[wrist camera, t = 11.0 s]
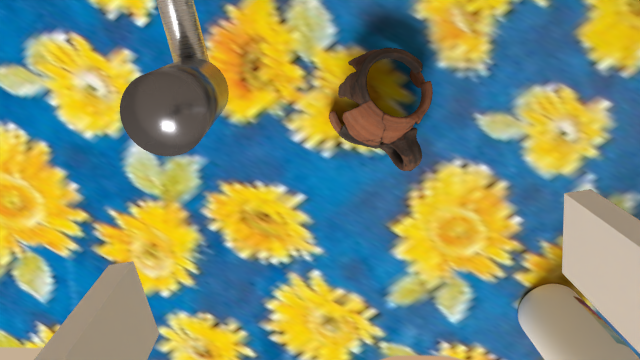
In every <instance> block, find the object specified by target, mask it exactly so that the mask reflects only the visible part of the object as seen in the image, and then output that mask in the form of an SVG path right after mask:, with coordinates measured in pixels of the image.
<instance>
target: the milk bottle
mask: <svg viewBox="0 0 640 360" xmlns="http://www.w3.org/2000/svg"><path fill="white" fill-rule="evenodd" d="M518 320H519V323H520V325H521V327H522V328H523V330H524V331H525V333H526V334H527V336H528V337H529V338H530V340H531V341H532V343H533V344H534V345H535V347H536V348H537V350H538V351H539V352H540V354H541V355H542V357H543V358H544V359H545V360H640V359H639V358H638V357H637V355H636V354H635V353H634V352H633V351H632V350H631V349H630V348H629V347H628V345H627V344H626V343H625V342H624V341H623V340H622V339H621V338H620V337H619V336H618V335H617V334H616V333H615V332H614V331H613V330H612V329H611V328H610V327H609V326H608V325H607V324H606V323H605V322H604V321H603V320H602V319H601V318H600V317H599V316H598V315H597V314H596V313H595V312H594V311H593V310H592V309H591V308H590V307H589V306H588V305H587V304H586V303H585V302H584V301H583V300H582V299H581V298H580V297H579V296H578V295H577V294H576V293H575V292H574V291H573V290H572V289H570V288H569V287H567V286H564V285H560V284H545V285H542V286H539V287H537V288H535V289H533V290H532V291H530V292H529V293H528V294H527V295H526V296H525V297H524V298H523V300H522V301H521V303H520V305H519V309H518Z"/></svg>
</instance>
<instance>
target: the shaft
mask: <svg viewBox="0 0 640 360" xmlns="http://www.w3.org/2000/svg"><path fill="white" fill-rule="evenodd" d="M156 1H157V5H158V8H159V12H160V15H161V19H162V22H163V26H164V29H165V33H166V36H167V40H168V43H169V47H170V50H171V53H172V57H173V60H174V63H172V64H169V65H167V66H164V67H162V68H159V69H157V70H154V71H152V72H149V73H147V74H144V75H142V76H140V77H138V78H136V79H135V80H134V81H132V82H131V83H130V84H129V86H128V87H127V88H126V90H125V91H124V93H123V96H122V99H121V103H120V116H121V120H122V124H123V126H124V129H125V130H126V132H127V134H128V135H129V136H130V138H131V139H132V140H133V141H134V142H135V143H136V144H137V145H138V146H140V147H141V148H143V149H144V150H146V151H148V152H150V153H153V154H156V155H160V156H176V155H180V154H183V153H186V152H188V151H189V150H191V149H192V148H194V147H195V146H196V145H197V144H198V143H199V142H200V140H201V139H202V138H203V136H204V135H205V134H206V132H207V131H208V130H209V128H210V127H211V126H212V125H213V123H214V122H215V121H216V119H217V118H218V117H219V115H220V114H221V113H222V111H223V110H224V108H225V106H226V104H227V101H228V85H227V82H226V80H225V77H224V76H223V74H222V73H221V71H220V70H219V69H218V68H217V67H216V66H215V65H213V64H212V63H210V62H209V59H208V55H207V51H206V47H205V43H204V39H203V36H202V32H201V28H200V24H199V20H198V16H197V12H196V9H195V5H194V1H193V0H156Z"/></svg>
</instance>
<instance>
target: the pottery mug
mask: <svg viewBox="0 0 640 360" xmlns="http://www.w3.org/2000/svg"><path fill="white" fill-rule="evenodd" d="M385 58H390V59H395V60H398V61H401V62H403V63H404V64H406V65H407V66H408V67H409V68H410V69H411V72H410V79H411V80H412V82H413V83H414V84H415V85H416V86H417V87H418V88H421V94H422V95H421V102H420V105H419V107H418V108H417V110H416V111H415V112H413V113H412V114H411V115H409V116H405V117H395V116H391V115H388V114H386V113H384V112H383V111H382V110H380V109H379V108H378V107H377V106H376V105H375V104H374V102H373V101H372V100H371V99H370V96H369V93H368V90H367V83H366V82H367V74H368V71H369V68H370V67H371V66H372V65H373V64H374V63H375V62H376V61H378V60H381V59H385ZM348 63H349V65H352V66H353V67H354V68H355V69H356V72H354V73H351V74H350V75H349V76H347V78H346V79H345V81H344V82H343V83H342V84H341V85H340V86H339V92H338V95H339V97H340V98H343V97H347V98H348V99H351V100H353V101H355V102H356V103H358V104H359V106H358V107H355V108H354V109H352V110H349V111H346V112H344V114H343V121H344V123H345V125H343V127H342V125H341V123H340V121H339V119H338V117H337V114H336V112H335V111H332V112H330V115H329V119H330V122H331V124H332V126H333V128H334V129H335V130H336V132H337V133H338V134H339V135H340V136H341V137H342V138H344V139H345V140H347V141H349V142H351V143H354V144H358V145H363V146H366V147H372V148H375V149H376V148H380V149H382V150H384V151H385V152H386V153H387V154H388V155H389V157H390V158H391V160H392V161H393V163H394V164H395V165H396V166H397V167H398V168H399V169H400V170H403V171H411V170H413V169H414V168H415V167H416V166H418V165H419V164H420V161H421V159H422V152H421V148H420V145H419V144H418V142H417V138H416V134H417V129H416V128H412V127H413V125H414V124H415V122H416V123H417V124H419V123H420V121H421V119H422V117H423V116H424V115H425V113H426V112H427V110H428V108H429V106H430V104H431V100H432V94H433V92H432V84H431V81H427V82H425V80H424V77H423V75H422V74H421V71H422V63H421V61H419V60H418V59H417V58H416V57H415V56H413V55H412V54H410V53H409V52H407V51H404V50H402V49H397V48H393V49H392V48H384V49H380V50H372V51H369V52H367V53H365V54H363V55H361V56H359V57H356V58H354V59H352V60H351V61H349V62H348Z"/></svg>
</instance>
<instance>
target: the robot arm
mask: <svg viewBox="0 0 640 360" xmlns="http://www.w3.org/2000/svg"><path fill="white" fill-rule="evenodd" d="M562 273H563V274H564V275H565V276H566V277H567V278H568V279H569V280H570V282H571V283H572V284H573V285H574V286H575V287H576V288H577V289H578V290H579V291H580V292H581V293H582V294H583V295H584V296H585V297H586V298H587V299H588V300H589V301H590V302H591V303H592V304H593V305H594V306H595V307H596V308H597V309H598V311H599V312H600V313H601V314H602V315H603V316H604V317H605V318H606V319H607V320H608V321H609V322H610V323H611V324H612V325H613V326H614V327H615V328H616V329H617V330H618V331H619V332H620V333H621V334H622V335H623V336H624V337H625V339H626V340H627V341H628V342H629V343H630V344H631V345H632V346H633V347H634V348H635V349H636V350H637V351H638V352H639V353H640V220H639V219H637V218H635V217H634V216H632V215H631V214H629V213H627V212H626V211H624V210H623V209H621V208H620V207H618V206H616V205H615V204H613V203H612V202H610V201H608V200H607V199H605V198H604V197H602V196H601V195H599V194H597V193H596V192H594V191H593V190H591V189H589V190H583V191H577V192H570V193H565V194H564V226H563V258H562ZM158 335H159V331H158V329H157V326H156V323H155V320H154V318H153V315H152V312H151V309H150V307H149V304H148V301H147V298H146V296H145V293H144V290H143V287H142V285H141V282H140V279H139V276H138V273H137V271H136V268H135V265H134V262H127V263H120V264H114V265H109V266H108V267H107V268H106V270H105V271H104V272H103V273H102V275H101V276H100V277H99V278H98V280H97V281H96V282H95V284H94V285H93V286H92V287H91V289H90V290H89V291H88V292H87V294H86V295H85V296H84V297H83V299H82V300H81V301H80V302H79V304H78V305H77V306H76V307H75V309H74V310H73V311H72V312H71V314H70V315H69V316H68V318H67V319H66V320H65V321H64V323H63V324H62V325H61V326H60V328H59V329H58V330H57V331H56V333H55V334H54V335H53V336H52V338H51V339H50V340H49V341H48V343H47V344H46V345H45V346H44V348H43V349H42V350H41V352H40V353H39V354H38V355H37V357H36V358H35V359H34V360H147V359H148V356H149V354H150V352H151V350H152V348H153V346H154V344H155V341H156V339H157V337H158Z"/></svg>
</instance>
